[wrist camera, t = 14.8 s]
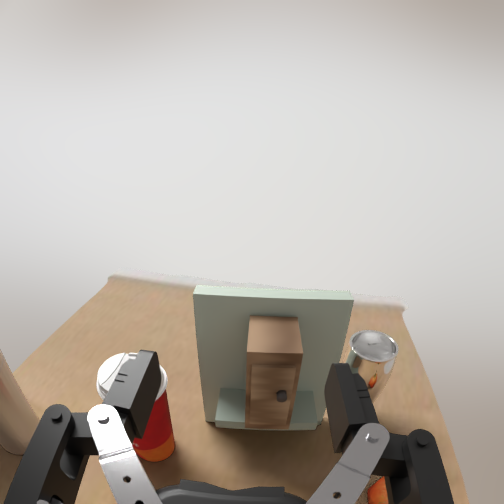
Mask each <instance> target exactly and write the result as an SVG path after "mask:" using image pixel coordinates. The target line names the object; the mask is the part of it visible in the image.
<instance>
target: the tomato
mask: <svg viewBox="0 0 504 504" xmlns="http://www.w3.org/2000/svg"><path fill="white" fill-rule="evenodd" d="M376 481H377V480H376ZM368 501H369V503H368V504H389V503H388V497H387V491H386V485H385V479H384V476H383V477H382V478H381V479H379V480H378V481H377V482H376V483H375V484H373V485H372V486H371V487H370V488H369V489H368Z"/></svg>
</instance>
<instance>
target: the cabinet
mask: <svg viewBox="0 0 504 504" xmlns="http://www.w3.org/2000/svg"><path fill="white" fill-rule="evenodd" d="M302 358H303V348H302V342H301V336H300V330H299V323H298V317H277V316H252V315H250V320H249V332H248V344H247V364H246V402H245V428H251V429H289V426H290V421H291V416H292V411H293V407H294V401H295V396H296V391H297V386H298V380H299V375H300V369H301V364H302Z"/></svg>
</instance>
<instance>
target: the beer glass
mask: <svg viewBox="0 0 504 504" xmlns="http://www.w3.org/2000/svg"><path fill="white" fill-rule="evenodd" d="M397 353H398V345H397V343H396V342H395V340H394V339H393V338H391V337H390V336H389V335H387V334H385V333H382V332H379V331H374V330H363V331H359V332H357V333H355V334H353V335H352V336H351V338H350V341H349V344H348V347H347V350H346V352H345V355H344V358H343V361H342V363H348V364H349V366H350V369H351V372H352V374H353V373H359V375H360V376H361V377H362V378H363V379H364V380H365V382H366V385H367V388H368V391H369V394H370V398H371V400H372V403H374V402H375V401H376V399H377V398H378V397H379V395H380V394H381V393H382V391H383V389H384V388H385V386H386V384H387V382H388V380H389V378H390V376H391V373H392V370H393V367H394V364H395V360H396V356H397Z"/></svg>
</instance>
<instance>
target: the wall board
mask: <svg viewBox="0 0 504 504" xmlns="http://www.w3.org/2000/svg"><path fill="white" fill-rule="evenodd" d="M193 300H194V314H195V327H196V338H197V349H198V359H199V369H200V378H201V387H202V395H203V404H204V411H205V419H206V421H210V422H215V425H216V427H222V428H235V429H251V428H245V402H246V364H247V344H248V332H249V320H250V315H252V316H277V317H298V323H299V330H300V336H301V342H302V348H303V358H302V364H301V369H300V375H299V380H298V386H297V391H296V396H295V401H294V407H293V411H292V416H291V421H290V426H289V429H252V430H316V427H317V425H321V422H322V419H323V416H324V413H325V410H326V402H325V397H324V389H325V384H326V381H327V377H328V374H329V370H330V367H331V364H332V363H339V361H340V358H341V354H342V350H343V346H344V342H345V338H346V334H347V329H348V325H349V321H350V316H351V311H352V307H353V302H354V299H353V297H352V295H351V293H350V291H326V290H291V289H264V288H242V287H222V286H204V285H197V286H196V288H195V290H194V293H193Z"/></svg>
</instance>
